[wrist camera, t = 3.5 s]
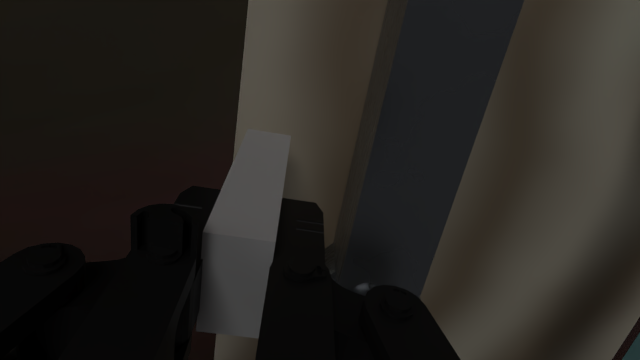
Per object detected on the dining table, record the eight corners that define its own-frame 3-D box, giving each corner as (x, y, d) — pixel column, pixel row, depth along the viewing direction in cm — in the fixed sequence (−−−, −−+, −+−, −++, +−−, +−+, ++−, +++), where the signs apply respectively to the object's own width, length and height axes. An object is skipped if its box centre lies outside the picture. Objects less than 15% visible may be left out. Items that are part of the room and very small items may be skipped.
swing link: (396, 321, 20) (409, 376, 17) (302, 310, 19) (301, 364, 17) (511, -25, 14) (561, -25, 11) (376, -52, 13) (393, -60, 10)
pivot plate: (214, 387, 24) (163, 605, 16) (268, -141, 14) (201, -325, 5) (542, 422, 26) (652, 633, 18) (811, -22, 16) (1394, -20, 7)
